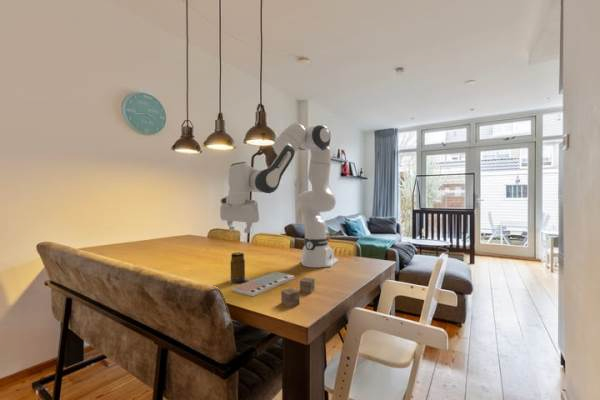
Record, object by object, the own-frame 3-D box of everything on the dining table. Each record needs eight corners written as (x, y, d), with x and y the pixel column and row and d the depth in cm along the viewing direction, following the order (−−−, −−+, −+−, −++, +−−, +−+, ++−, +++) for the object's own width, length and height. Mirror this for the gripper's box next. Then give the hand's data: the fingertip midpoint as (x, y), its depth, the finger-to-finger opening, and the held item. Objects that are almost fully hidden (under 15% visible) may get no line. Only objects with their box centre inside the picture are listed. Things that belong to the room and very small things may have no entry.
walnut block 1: (292, 300, 101) (292, 288, 101) (299, 304, 98) (299, 291, 98) (281, 303, 99) (281, 290, 99) (288, 307, 95) (288, 294, 95)
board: (275, 274, 133) (275, 271, 133) (294, 278, 127) (294, 275, 127) (232, 290, 111) (232, 287, 111) (252, 296, 105) (252, 292, 105)
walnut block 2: (303, 288, 114) (303, 277, 114) (314, 289, 112) (314, 278, 112) (300, 292, 109) (300, 280, 109) (311, 293, 108) (311, 281, 108)
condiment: (233, 278, 128) (233, 251, 127) (251, 279, 126) (251, 252, 126) (227, 283, 120) (226, 255, 120) (246, 284, 119) (245, 255, 119)
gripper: (262, 200, 119) (262, 232, 119) (228, 199, 130) (228, 229, 131) (251, 200, 114) (251, 234, 114) (217, 199, 125) (217, 230, 126)
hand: (239, 231), depth 123 cm, fingers open, 8 cm apart
